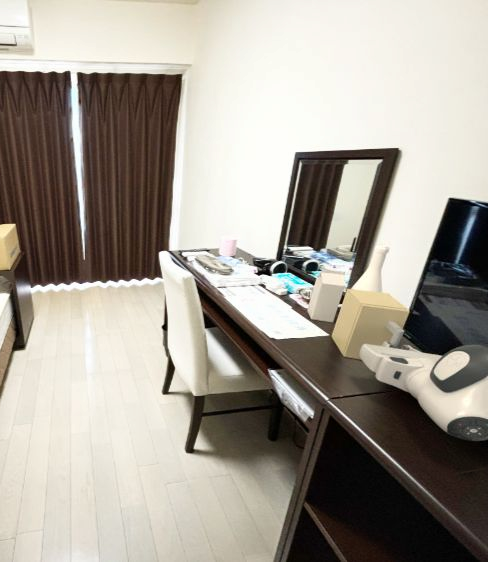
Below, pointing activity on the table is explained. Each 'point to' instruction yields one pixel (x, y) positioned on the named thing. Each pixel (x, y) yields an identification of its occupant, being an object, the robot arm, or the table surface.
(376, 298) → the fridge
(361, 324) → the fridge door
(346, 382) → the table surface
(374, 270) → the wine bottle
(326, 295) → the milk carton
